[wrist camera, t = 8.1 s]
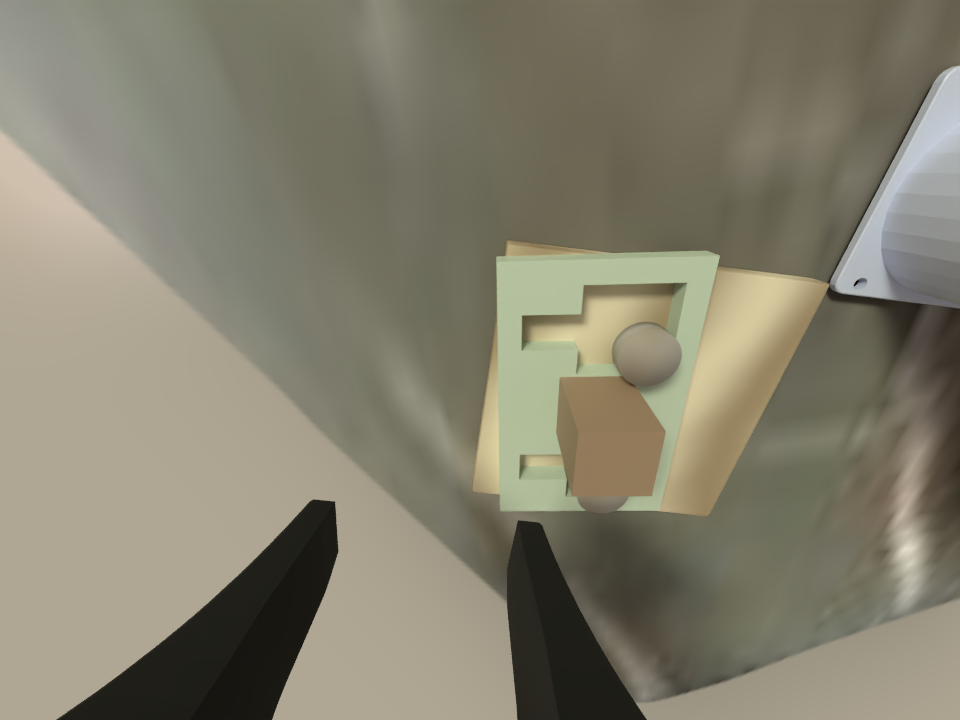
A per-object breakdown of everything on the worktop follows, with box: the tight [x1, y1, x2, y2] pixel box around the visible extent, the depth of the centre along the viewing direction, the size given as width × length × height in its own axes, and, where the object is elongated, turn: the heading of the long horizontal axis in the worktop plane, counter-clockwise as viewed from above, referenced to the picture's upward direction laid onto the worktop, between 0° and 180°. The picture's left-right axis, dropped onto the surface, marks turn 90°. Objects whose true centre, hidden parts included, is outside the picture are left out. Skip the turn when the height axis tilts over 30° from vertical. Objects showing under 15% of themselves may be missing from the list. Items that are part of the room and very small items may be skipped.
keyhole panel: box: [496, 251, 720, 511], centre depth 16 cm, size 8×13×5 cm, turn 2°
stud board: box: [472, 240, 830, 516], centre depth 18 cm, size 13×13×3 cm
